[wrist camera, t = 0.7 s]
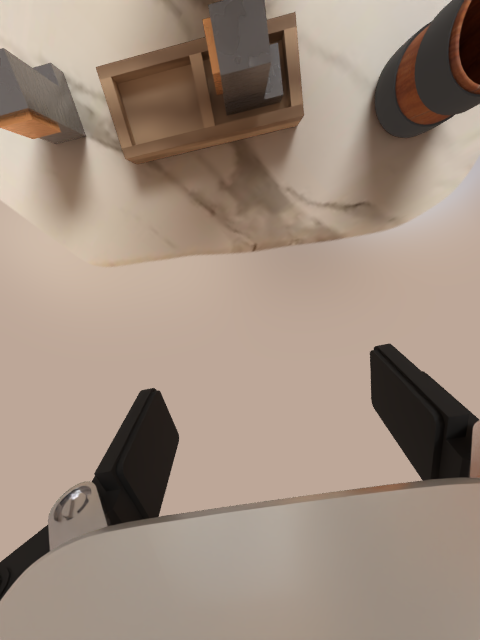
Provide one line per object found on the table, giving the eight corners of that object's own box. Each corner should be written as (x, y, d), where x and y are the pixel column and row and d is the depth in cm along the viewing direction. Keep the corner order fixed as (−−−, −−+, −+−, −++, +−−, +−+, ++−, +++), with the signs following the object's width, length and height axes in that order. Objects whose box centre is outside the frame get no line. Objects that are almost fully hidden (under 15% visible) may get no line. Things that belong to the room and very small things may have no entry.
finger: (63, 72, 28) (-11, 14, 20) (88, 141, 31) (32, 116, 23) (30, 81, 29) (-56, 28, 20) (57, 149, 31) (-9, 126, 23)
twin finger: (212, 71, 27) (200, 7, 18) (275, 54, 26) (291, -19, 18) (221, 117, 28) (213, 77, 20) (280, 102, 28) (297, 55, 19)
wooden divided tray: (112, 83, 29) (95, 67, 25) (288, 35, 27) (295, 12, 24) (136, 164, 32) (125, 158, 28) (297, 125, 30) (303, 115, 27)
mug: (488, 29, 27) (655, -93, 16) (416, 153, 31) (509, 121, 20) (422, -16, 26) (554, -183, 15) (356, 119, 30) (421, 66, 19)
